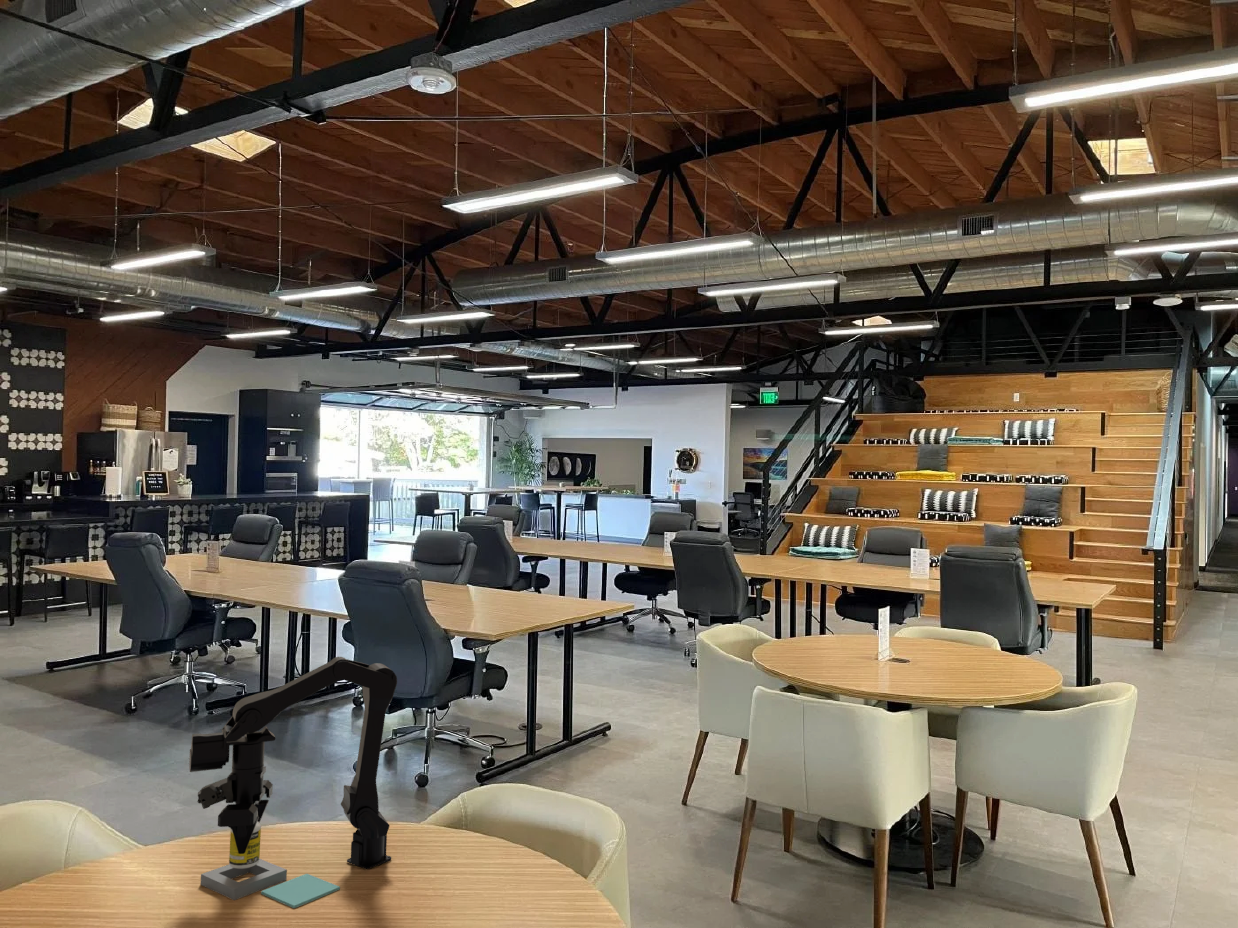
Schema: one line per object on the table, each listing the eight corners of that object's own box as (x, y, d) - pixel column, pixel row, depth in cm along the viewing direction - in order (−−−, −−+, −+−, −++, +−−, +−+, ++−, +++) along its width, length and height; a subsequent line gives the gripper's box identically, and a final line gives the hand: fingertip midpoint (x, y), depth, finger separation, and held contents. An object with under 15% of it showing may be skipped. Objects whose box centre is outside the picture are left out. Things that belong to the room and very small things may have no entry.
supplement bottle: (248, 870, 168) (250, 817, 168) (222, 867, 169) (224, 815, 169) (265, 859, 173) (267, 808, 174) (240, 856, 174) (242, 806, 175)
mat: (306, 875, 174) (306, 873, 174) (339, 889, 169) (339, 886, 169) (261, 893, 166) (261, 890, 166) (294, 908, 160) (294, 905, 160)
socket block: (252, 865, 179) (253, 855, 179) (286, 879, 172) (286, 869, 172) (200, 884, 169) (200, 873, 170) (234, 900, 163) (234, 888, 163)
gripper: (216, 753, 180) (213, 831, 179) (189, 781, 161) (185, 869, 161) (274, 751, 182) (271, 829, 181) (254, 779, 163) (251, 866, 163)
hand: (245, 847), depth 171 cm, fingers closed on supplement bottle, 5 cm apart
